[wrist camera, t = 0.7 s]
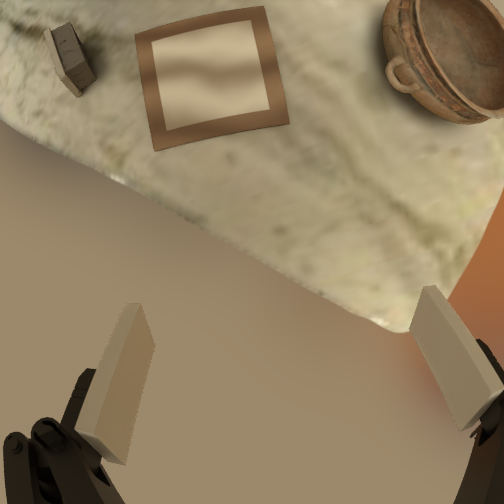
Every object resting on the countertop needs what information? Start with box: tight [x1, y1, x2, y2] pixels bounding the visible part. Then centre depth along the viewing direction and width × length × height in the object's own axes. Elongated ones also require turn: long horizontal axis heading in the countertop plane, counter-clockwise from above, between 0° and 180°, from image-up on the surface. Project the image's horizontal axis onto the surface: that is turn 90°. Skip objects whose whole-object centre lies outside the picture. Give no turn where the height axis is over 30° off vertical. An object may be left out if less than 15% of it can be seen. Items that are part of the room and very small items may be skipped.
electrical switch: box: [44, 22, 96, 97], centre depth 25 cm, size 8×5×8 cm, turn 25°
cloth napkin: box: [135, 6, 290, 151], centre depth 30 cm, size 16×16×1 cm
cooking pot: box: [382, 0, 504, 124], centre depth 24 cm, size 25×19×12 cm
